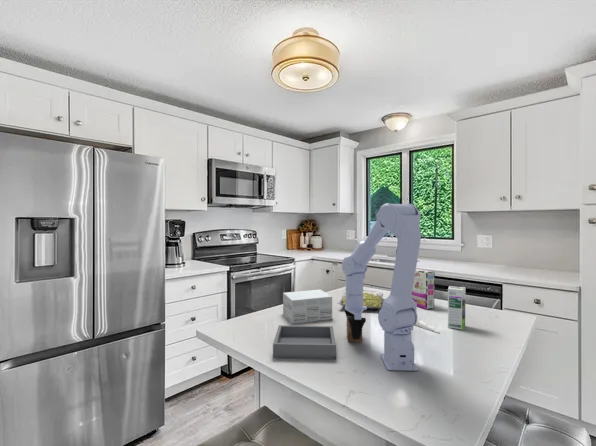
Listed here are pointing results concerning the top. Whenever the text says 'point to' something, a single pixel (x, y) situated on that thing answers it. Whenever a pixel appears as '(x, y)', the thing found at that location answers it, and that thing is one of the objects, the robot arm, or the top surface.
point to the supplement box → (307, 306)
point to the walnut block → (349, 333)
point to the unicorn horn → (425, 326)
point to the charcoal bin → (304, 342)
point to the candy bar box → (423, 289)
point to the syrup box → (456, 307)
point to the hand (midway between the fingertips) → (354, 334)
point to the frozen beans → (367, 299)
